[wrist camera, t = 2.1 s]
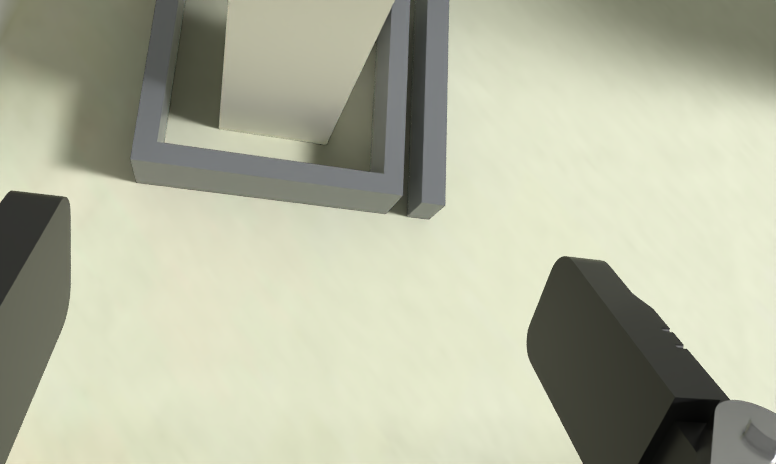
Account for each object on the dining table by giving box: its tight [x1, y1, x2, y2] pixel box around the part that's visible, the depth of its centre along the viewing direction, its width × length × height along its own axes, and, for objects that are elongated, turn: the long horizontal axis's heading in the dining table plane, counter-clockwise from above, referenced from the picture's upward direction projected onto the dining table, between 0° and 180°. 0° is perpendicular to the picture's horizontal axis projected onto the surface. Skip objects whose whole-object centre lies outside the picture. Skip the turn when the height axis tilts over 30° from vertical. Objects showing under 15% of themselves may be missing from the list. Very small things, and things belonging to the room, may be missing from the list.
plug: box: [219, 0, 395, 145], centre depth 23 cm, size 4×4×12 cm
